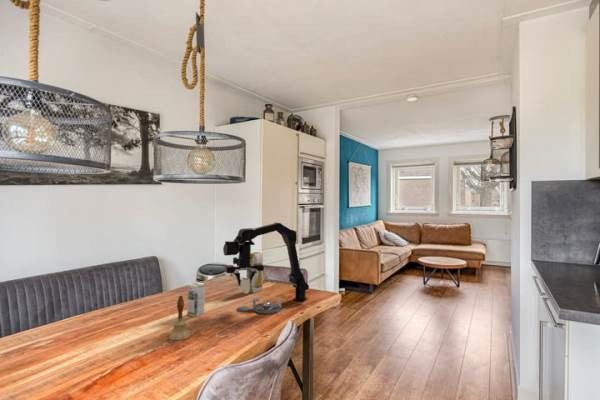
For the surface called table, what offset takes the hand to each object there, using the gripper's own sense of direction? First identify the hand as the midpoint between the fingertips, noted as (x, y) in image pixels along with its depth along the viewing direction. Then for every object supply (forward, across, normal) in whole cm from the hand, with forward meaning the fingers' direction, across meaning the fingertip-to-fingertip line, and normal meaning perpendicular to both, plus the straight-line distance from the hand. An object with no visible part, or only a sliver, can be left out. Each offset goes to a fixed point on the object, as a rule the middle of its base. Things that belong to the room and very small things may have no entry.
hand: (244, 285), depth 158 cm
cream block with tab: (+3, 0, 0) cm, 3 cm away
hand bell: (+12, +31, +20) cm, 39 cm away
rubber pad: (+12, 0, 0) cm, 12 cm away
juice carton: (+12, -14, -30) cm, 35 cm away
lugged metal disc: (+12, -11, +4) cm, 17 cm away
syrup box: (+12, +22, -2) cm, 26 cm away
